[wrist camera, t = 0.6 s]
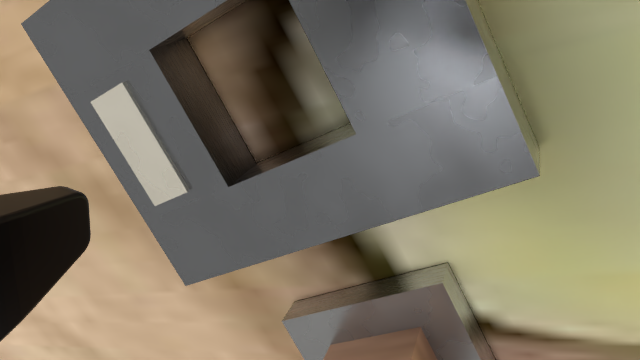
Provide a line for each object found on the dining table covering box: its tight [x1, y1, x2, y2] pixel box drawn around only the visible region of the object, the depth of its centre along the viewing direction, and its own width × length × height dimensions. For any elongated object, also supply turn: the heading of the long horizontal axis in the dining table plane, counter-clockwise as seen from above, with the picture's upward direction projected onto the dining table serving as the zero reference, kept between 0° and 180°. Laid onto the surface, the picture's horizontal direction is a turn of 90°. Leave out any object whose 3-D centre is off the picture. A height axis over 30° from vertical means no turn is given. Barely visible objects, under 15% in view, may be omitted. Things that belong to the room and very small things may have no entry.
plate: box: [21, 0, 540, 286], centre depth 20 cm, size 13×16×3 cm
